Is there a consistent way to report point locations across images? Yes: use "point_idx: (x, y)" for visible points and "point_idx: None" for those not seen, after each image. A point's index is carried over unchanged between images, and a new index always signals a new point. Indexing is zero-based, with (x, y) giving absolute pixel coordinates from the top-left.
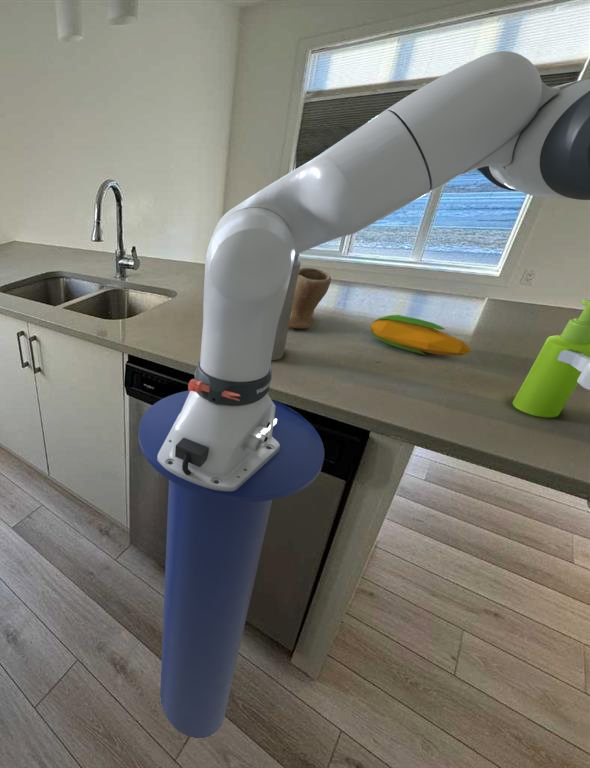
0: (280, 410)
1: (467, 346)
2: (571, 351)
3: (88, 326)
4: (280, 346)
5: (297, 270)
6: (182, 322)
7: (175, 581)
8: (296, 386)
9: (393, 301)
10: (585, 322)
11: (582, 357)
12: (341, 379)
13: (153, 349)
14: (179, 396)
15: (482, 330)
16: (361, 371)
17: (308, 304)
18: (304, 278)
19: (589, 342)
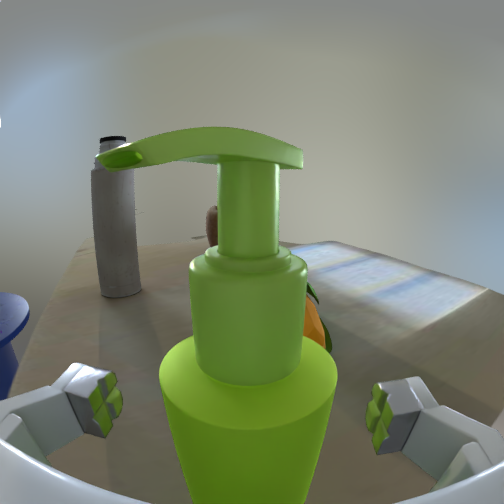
0: (3, 330)
1: (319, 341)
2: (78, 374)
3: (88, 245)
4: (110, 279)
5: (109, 175)
6: (142, 254)
7: None
8: (54, 322)
9: (393, 275)
10: (211, 253)
11: (16, 396)
12: (102, 336)
13: (71, 265)
14: (2, 294)
15: (442, 324)
16: (147, 338)
17: (217, 244)
18: (211, 208)
19: (242, 379)
